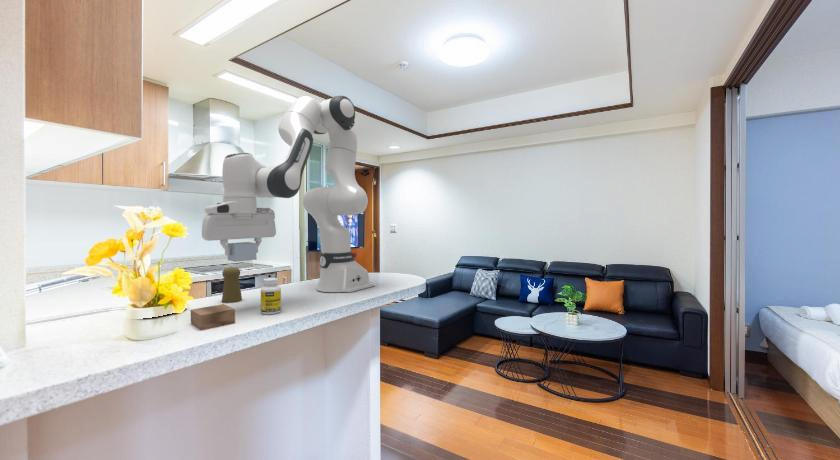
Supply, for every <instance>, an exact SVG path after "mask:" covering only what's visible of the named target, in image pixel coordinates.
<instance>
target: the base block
mask: <svg viewBox="0 0 840 460" xmlns="http://www.w3.org/2000/svg"><path fill="white" fill-rule="evenodd" d="M190 324H191V325H192V326H194V327H196V329H198V330H200V331H203V330H208V329H213V328H218V327H223V326H228V325H232V324H236V309H235V308H233V307H231V306H229V305H227V304H226V303H222V304H216V305H211V306H206V307H205V306H204V307H199V308H191V309H190Z"/></svg>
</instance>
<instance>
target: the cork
mask: <svg viewBox="0 0 840 460" xmlns="http://www.w3.org/2000/svg"><path fill="white" fill-rule="evenodd" d="M240 275H241V269H239V268H238V267H226V268H224V269H223V271H222V277H223V278H224V279H223V287H222V296H221V303H222V304H233V303H239V302H241V301H243V296H242V289H241V285H240V279H239V277H240Z"/></svg>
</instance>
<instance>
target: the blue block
mask: <svg viewBox="0 0 840 460" xmlns="http://www.w3.org/2000/svg"><path fill="white" fill-rule="evenodd" d="M226 245H227V246H228V248H229V249H232V255H227V261H230V262H234V263H236V262H246V261H255V260H257V253H256V243H255V242H253V241H252V242H250V241H243V242H228V243H227V244H226Z"/></svg>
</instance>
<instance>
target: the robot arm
mask: <svg viewBox="0 0 840 460" xmlns="http://www.w3.org/2000/svg"><path fill="white" fill-rule="evenodd" d="M355 109H356V108H355V105H354V104H353V102H352V101H351V99H350V98H349V97H347V96H345V95H335V96H333V97H331V98H328V99H325V100H323V101H321V102H320V103H319V102H318V101H317V100H316V99H314V98H313V97H311V96H308V95H303V96H300V97H298V98H297V99H296V100H295V101H294V102H293V103H292V104H291V105H290V106H289V107H288V109H287V110H286V111H285V113H284V115H283V116H282V117H281V119H280V121H279V125H278V127H277V130H278V133H279V136H280V138H281V140H282V141H284V143H285V144H287V145H288V146H290V148H289V150H288V152H287V155H286V157H285V160H284V161H283V162H281V163H280V164H277V165H271V166H266V165H265V164H262V163H260V162H259V161H258V160H257V159H256V158H255V157H254V156H253V154H251V153H249V152H241V153H231V154H228V155H226V156H225V157H224V159H223V163H222V170H221V171H222V172H221V173H222V185H223V188H224V192H223V196H222V199H223V201H222V202H217V203H215V204H214V203H213V204H211V205H207V206H206V207H204V212H205V214H206V215H205V216H204V217H203V219H202V224H201V237H202V238H203V240H204V241H219V244H220V245H221V246H222V248H223V249H224V255H225V256H228V255H232V249H229V248H228V246H227V243H229V240H243V239H244V240H245V239H253V241H254V243H256V254H258V253H259V247H260V245H261V243H262V242H263V241H262V238H273V237H275V236H276V234H277V227H276V222H275V219H276V214H275V211H274V210H273V209H271V208H270V207H258V206H257V204H258V203H257V198H261V199H263V198H268V199H270V198H271V199H272V198H279V199H280V198H281V199H282V198H283V199H290V198H293V197H295V196H296V195H297V194H298V193H299V191H300V189H301V185H302V180H303V174H304V170H305V167H306V164H307V162H308V160H309V158H310V154H311V151H312V149H313V145H314V137H313V135H324V134H327V133H328V137H329V142H328V147H327V155H326V159H325V166H324V169H325V172H326V173H327V175H328V176H329V177H330V178H332V179H333V180H334V182H335V183H334V186H317V187H314V188H310V189H308V190H307V191H305V193H304V195H303V198H302V204H303V208H304V210H305V211H306V212H307V213H308V214H310V216H311V217H312V218H313V220H315V223H316V225H317V227H318V230H319V238H320V253H319V265H320V266H319V267H320V271H319V281H318V285H317V287H316V291H318V292H324V293H353V292H356V291H360V290H364V289H368V288H372V287H375V286H376V283H375V282H374V281H370V276H369V272H368V270H367V269H366V268H364V267H363V266H362V265H361V264H360V263H358V262H357V261H356V259H355V258H357V259H358V258H359V252H356V251H354V252H352V249H351V246H352V245H351V232H350V230H349V228H348V227H346V226H344V225H342V223H341V222H340V220H339V217H338V216H354V215H355V216H356V215H359V214H362V213H364V212H365V211H366V209H367V207H368V203H369V200H368V195H367V193H366V191H365V189H363V187H361V186H360V185H359V184H358V181H357V180H356V179H357V178H356V175H355V174H356V173H355V168H356V160H357V149H358V147H357V146H358V142H357V141H358V140H357V139H358V138H357V134H356V131H354V130H353V127H354V126H355V119H356V110H355Z"/></svg>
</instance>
